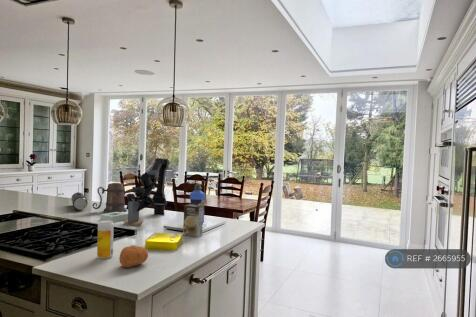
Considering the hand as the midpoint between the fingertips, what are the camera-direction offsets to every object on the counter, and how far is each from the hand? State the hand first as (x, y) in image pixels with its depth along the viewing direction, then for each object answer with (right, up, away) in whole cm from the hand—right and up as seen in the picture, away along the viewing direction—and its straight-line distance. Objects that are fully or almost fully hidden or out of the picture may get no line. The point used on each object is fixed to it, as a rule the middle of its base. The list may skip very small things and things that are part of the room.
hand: (131, 210), depth 195 cm
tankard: (-28, -7, +37) cm, 47 cm away
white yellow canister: (+8, -10, -59) cm, 61 cm away
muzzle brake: (-54, -6, +46) cm, 72 cm away
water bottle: (+38, -10, +8) cm, 40 cm away
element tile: (+28, -11, -40) cm, 50 cm away
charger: (0, -7, +1) cm, 7 cm away
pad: (0, -9, +1) cm, 9 cm away
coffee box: (+39, -11, -19) cm, 45 cm away
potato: (+22, -11, -67) cm, 71 cm away
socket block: (-14, -8, +9) cm, 19 cm away
